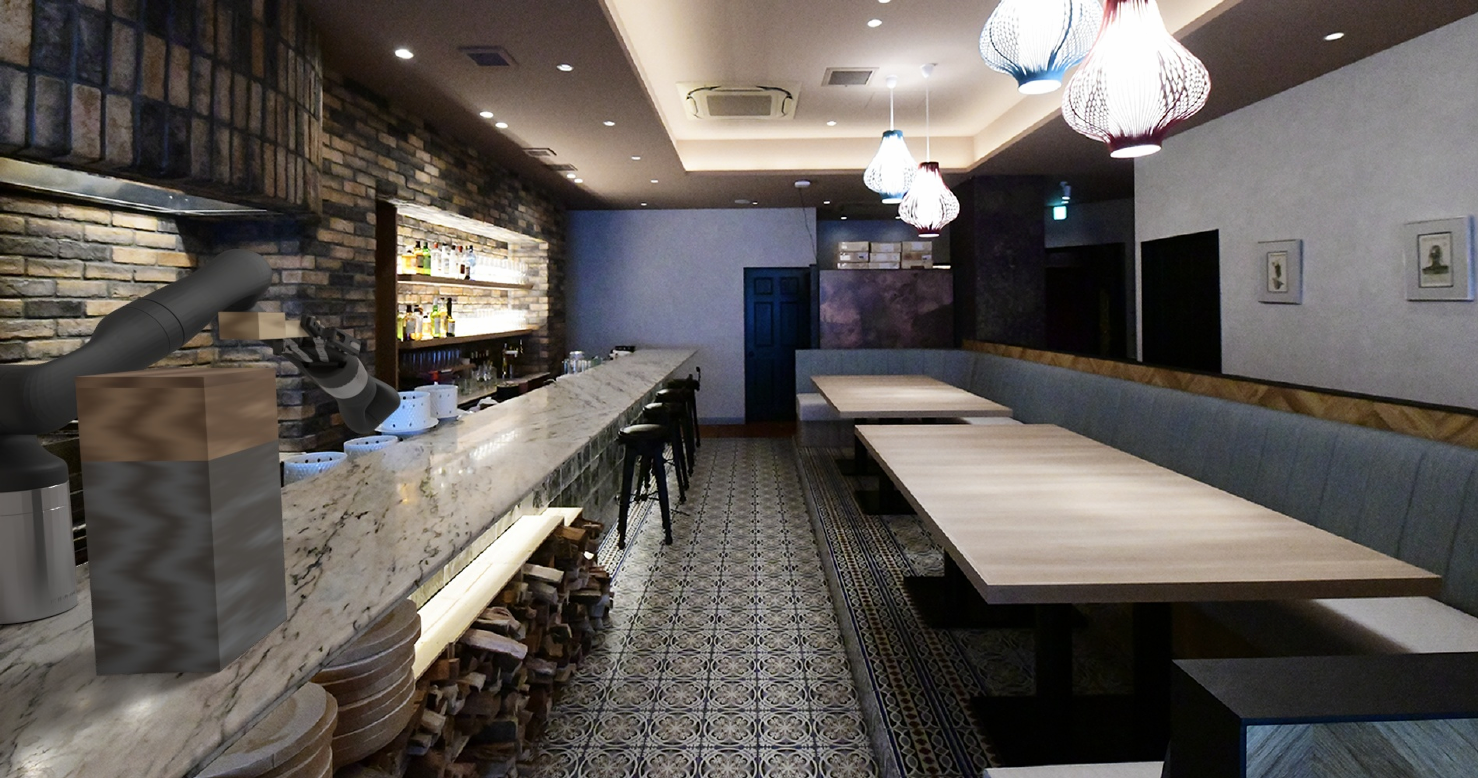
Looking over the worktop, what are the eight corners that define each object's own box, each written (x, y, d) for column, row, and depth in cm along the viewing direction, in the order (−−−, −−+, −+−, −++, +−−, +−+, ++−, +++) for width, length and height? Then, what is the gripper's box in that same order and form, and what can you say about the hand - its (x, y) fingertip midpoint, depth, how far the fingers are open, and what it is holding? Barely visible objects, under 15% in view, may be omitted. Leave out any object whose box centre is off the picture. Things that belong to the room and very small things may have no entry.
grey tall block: (96, 675, 84) (74, 376, 81) (182, 621, 99) (167, 367, 96) (220, 671, 85) (203, 376, 82) (287, 618, 100) (275, 367, 97)
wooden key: (219, 339, 101) (218, 312, 100) (294, 335, 120) (293, 312, 120) (259, 339, 101) (258, 312, 101) (327, 335, 121) (326, 313, 120)
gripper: (298, 349, 131) (247, 296, 115) (382, 350, 132) (344, 297, 116) (289, 389, 128) (235, 340, 112) (375, 389, 129) (335, 341, 113)
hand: (291, 319), depth 114 cm, fingers closed on wooden key, 3 cm apart
